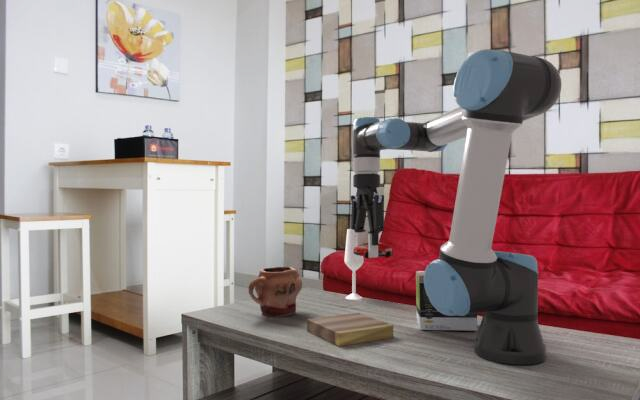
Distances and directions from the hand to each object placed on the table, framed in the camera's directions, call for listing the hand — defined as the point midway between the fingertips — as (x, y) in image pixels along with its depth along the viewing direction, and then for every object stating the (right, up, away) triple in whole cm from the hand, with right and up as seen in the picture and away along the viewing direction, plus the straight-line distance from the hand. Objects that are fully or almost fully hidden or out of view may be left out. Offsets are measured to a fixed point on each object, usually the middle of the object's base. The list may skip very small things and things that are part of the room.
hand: (366, 256), depth 143 cm
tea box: (+21, -19, -5) cm, 28 cm away
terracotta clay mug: (-26, -19, +9) cm, 34 cm away
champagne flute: (-1, -19, +34) cm, 39 cm away
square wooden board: (-6, -19, -12) cm, 23 cm away
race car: (0, -3, -1) cm, 3 cm away
